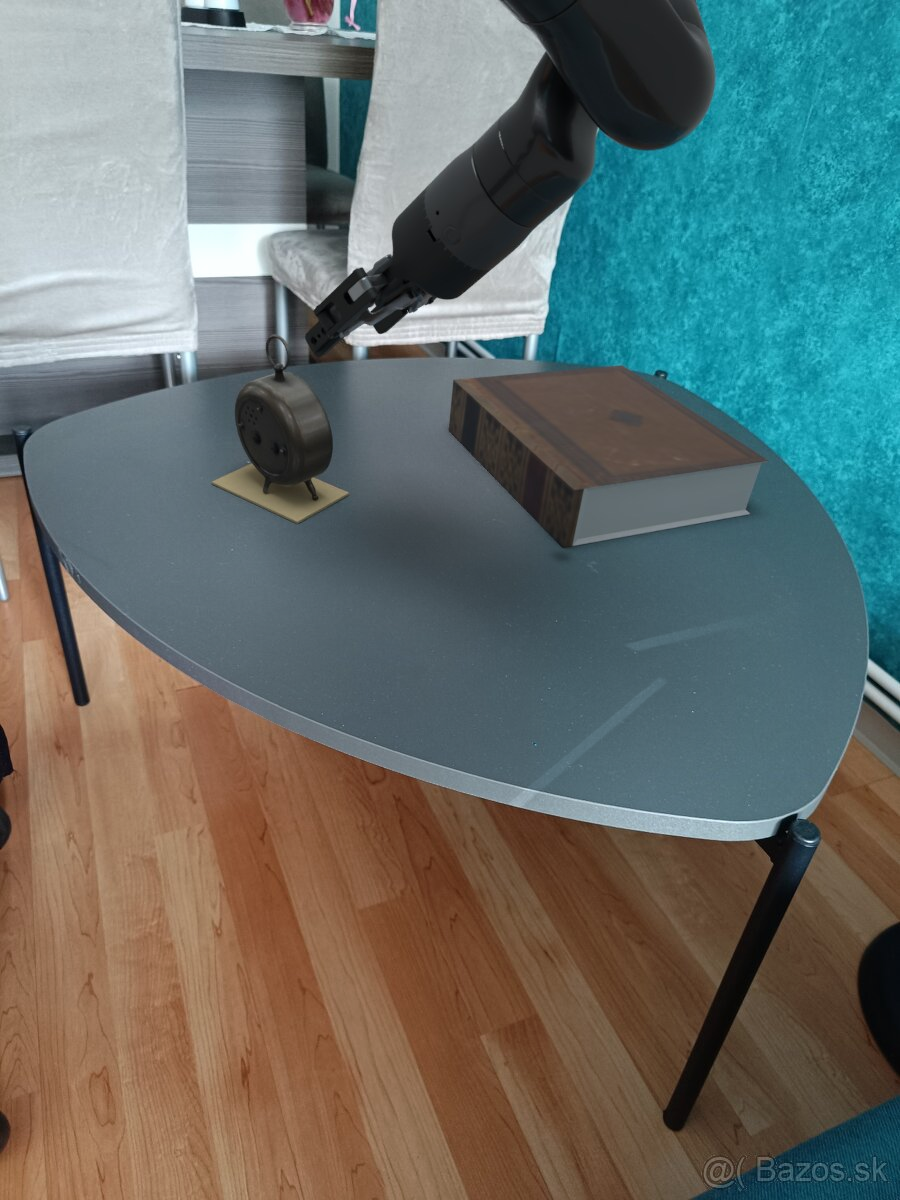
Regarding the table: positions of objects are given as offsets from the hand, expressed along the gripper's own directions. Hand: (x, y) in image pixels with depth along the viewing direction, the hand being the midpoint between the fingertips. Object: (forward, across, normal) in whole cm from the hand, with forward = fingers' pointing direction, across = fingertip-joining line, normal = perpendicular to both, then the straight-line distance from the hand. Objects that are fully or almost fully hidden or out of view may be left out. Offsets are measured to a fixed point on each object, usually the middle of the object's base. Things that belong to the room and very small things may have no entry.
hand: (345, 335), depth 73 cm
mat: (+19, 0, +7) cm, 20 cm away
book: (+3, -28, +24) cm, 37 cm away
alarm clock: (+19, 0, +7) cm, 20 cm away
